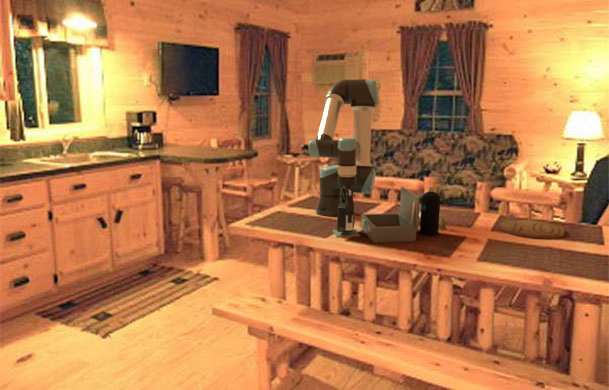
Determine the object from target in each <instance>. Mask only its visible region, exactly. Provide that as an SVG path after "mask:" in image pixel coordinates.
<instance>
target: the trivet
mask: <svg viewBox="0 0 609 390" xmlns="http://www.w3.org/2000/svg"><path fill="white" fill-rule="evenodd" d="M500 229H501V231H503V232H504V233H506V234H509V235H512V236H515V237H519V238H525V239H526V238H527V239H533V240H554V239H555V240H557V239H561V238H563V237H564V236H565V229H564V228H563V226H560V225H557V224H554V223H550V222H545V221H541V220H540V221H539V220H530V219H515V220H506V221H504V222H502V223H501V224H500Z"/></svg>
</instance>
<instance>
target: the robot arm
mask: <svg viewBox="0 0 609 390" xmlns="http://www.w3.org/2000/svg"><path fill="white" fill-rule="evenodd" d="M379 97H380V96H379V88H378V83H377V81H376V80H374V79H367V78H365V79H363V78H362V79H359V78H357V79H342V80H339V81H337V82H335V83H334V84H333V85H331V87H330V88H329V89H328V90H327V92H326V93H325V95H324V99H323V103H324V108H323V112H322V115H321V119H320V122H319V126H318V130H317V134H316V137H315V139H314V138H313V139H310V140H309V142H308V154H309V155H310V157H313V158H337V159H338V160H337V164H336V165H328V166H324V167H322V168H321V169H320V171H319V177H318V178H319V197H318V202H317V204H316V208H315V213H316V214H317V215H320V216H324V217H325V216H328V217H338V207H339V205H340V203H346V213H345V215H346V230H353V229H354V228H353V215H354V204H353V203H354V194H370V193H372V192H373V189H374V186H375V180H376V170H375V168H373V167H374V166H373V164H372V163H371V161H370V160H371V140H372V139H371V136H372V118H373V117H372V114H373V111H374V110H375V109H376V106H377V105H379V102H380V101H379V99H380V98H379ZM344 105H350V109H351V110H352V111H353V123H352V124H353V125H352V137H341V138H339V139H334V138H335V135H336V134H335V133H336V129H337V125H338V121H339V117H340V113H341V109H342V108H343V107H344ZM349 211H351V212H349Z"/></svg>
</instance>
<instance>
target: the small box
mask: <svg viewBox="0 0 609 390" xmlns="http://www.w3.org/2000/svg"><path fill="white" fill-rule="evenodd" d="M353 204H354V215H353V229H355V228H354V227H355V221H356V220H355V218H356V217H355V215H356V203H354V202H353ZM349 212H351V211H349ZM345 213H346V203H340V205H339V207H338V216H337V222H336V223H337V225H336V226H337V227H336V230H337V232H352V230H346V215H345Z"/></svg>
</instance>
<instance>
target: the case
mask: <svg viewBox="0 0 609 390" xmlns="http://www.w3.org/2000/svg"><path fill="white" fill-rule="evenodd" d="M420 199H421V196H419V195H417V193H416V194H415V193H414V192H413V191H410V190H409V189H408V188H406V187H405V186H400V202H399V203H400V204H399V206H400V207H399V212H393V213H392V212H391V213H362V214H361V215H360V229H361V230H362V231H364V233H365V234H366V235H367V237H368V238H369V239H370V240H371V241H372V243H375V244H376V243H396V242H397V243H399V242H416V240H417V232H419V229H420V207H421V203H420V202H421V200H420Z"/></svg>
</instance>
